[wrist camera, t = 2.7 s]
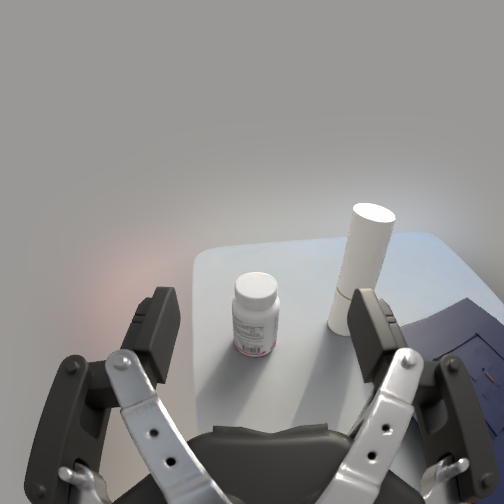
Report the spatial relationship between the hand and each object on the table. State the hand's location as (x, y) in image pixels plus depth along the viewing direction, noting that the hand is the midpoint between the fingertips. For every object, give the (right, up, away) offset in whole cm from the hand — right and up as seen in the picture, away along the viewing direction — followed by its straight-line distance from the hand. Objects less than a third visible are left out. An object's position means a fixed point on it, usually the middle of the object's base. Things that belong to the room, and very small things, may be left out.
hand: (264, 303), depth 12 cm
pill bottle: (0, -8, +18) cm, 20 cm away
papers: (+27, -15, +8) cm, 32 cm away
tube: (+11, -7, +20) cm, 24 cm away
